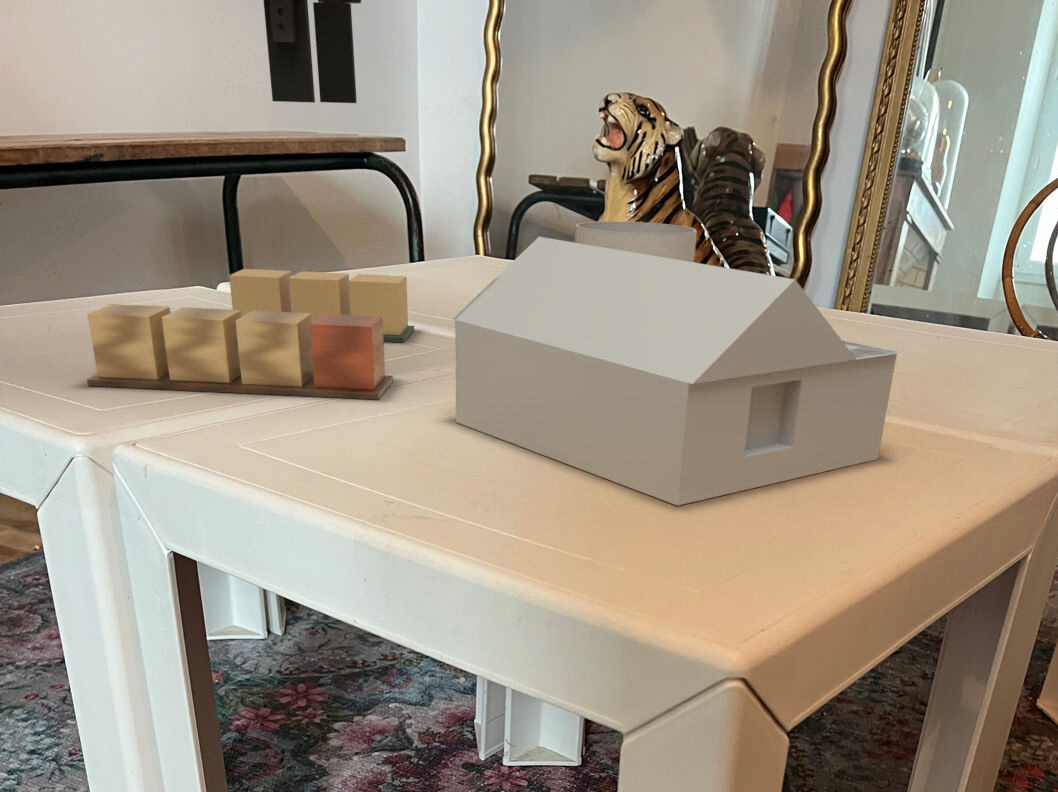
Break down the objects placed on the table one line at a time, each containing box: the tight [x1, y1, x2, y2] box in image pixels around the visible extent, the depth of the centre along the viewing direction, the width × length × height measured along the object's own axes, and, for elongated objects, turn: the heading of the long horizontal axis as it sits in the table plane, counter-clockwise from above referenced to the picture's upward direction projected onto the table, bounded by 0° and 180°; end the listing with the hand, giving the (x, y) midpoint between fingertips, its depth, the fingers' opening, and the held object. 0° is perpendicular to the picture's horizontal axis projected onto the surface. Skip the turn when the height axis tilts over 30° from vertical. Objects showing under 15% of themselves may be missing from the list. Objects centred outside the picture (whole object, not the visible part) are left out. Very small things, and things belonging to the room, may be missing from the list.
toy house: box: [452, 236, 905, 507], centre depth 81 cm, size 25×21×13 cm
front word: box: [86, 303, 394, 400], centre depth 94 cm, size 24×7×6 cm, turn 88°
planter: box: [574, 220, 698, 263], centre depth 121 cm, size 13×13×10 cm
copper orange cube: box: [310, 314, 386, 390], centre depth 93 cm, size 5×5×5 cm
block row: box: [228, 268, 415, 344], centre depth 115 cm, size 24×7×6 cm, turn 88°
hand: (317, 103), depth 82 cm, fingers open, 13 cm apart
